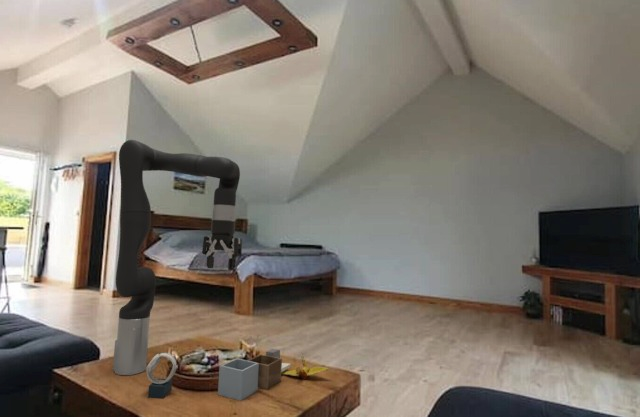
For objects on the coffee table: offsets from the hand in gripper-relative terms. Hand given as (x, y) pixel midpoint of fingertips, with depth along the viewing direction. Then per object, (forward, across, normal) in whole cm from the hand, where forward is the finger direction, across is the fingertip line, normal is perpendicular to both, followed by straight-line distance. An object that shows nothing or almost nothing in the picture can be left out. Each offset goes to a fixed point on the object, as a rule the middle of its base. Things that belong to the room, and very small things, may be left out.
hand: (220, 269), depth 125 cm
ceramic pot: (+34, +14, -6) cm, 37 cm away
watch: (+34, -4, -18) cm, 39 cm away
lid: (+33, +14, +14) cm, 38 cm away
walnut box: (+34, +16, +4) cm, 38 cm away
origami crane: (+34, +25, +15) cm, 45 cm away
